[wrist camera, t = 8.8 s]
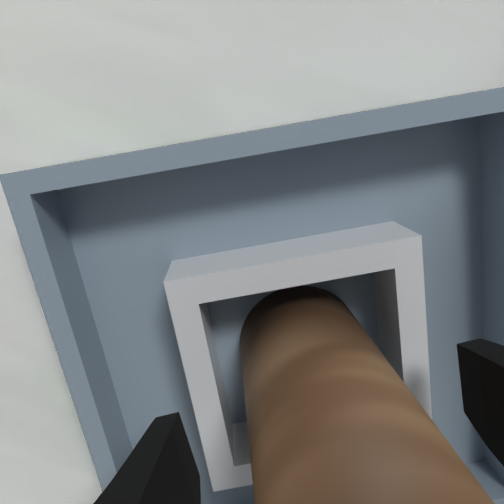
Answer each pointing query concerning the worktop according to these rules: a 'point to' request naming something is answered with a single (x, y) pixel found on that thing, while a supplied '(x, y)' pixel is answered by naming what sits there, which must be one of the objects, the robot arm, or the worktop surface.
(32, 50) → the worktop surface
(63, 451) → the worktop surface
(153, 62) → the worktop surface
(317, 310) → the walnut peg
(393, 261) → the candle dish
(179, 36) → the worktop surface
